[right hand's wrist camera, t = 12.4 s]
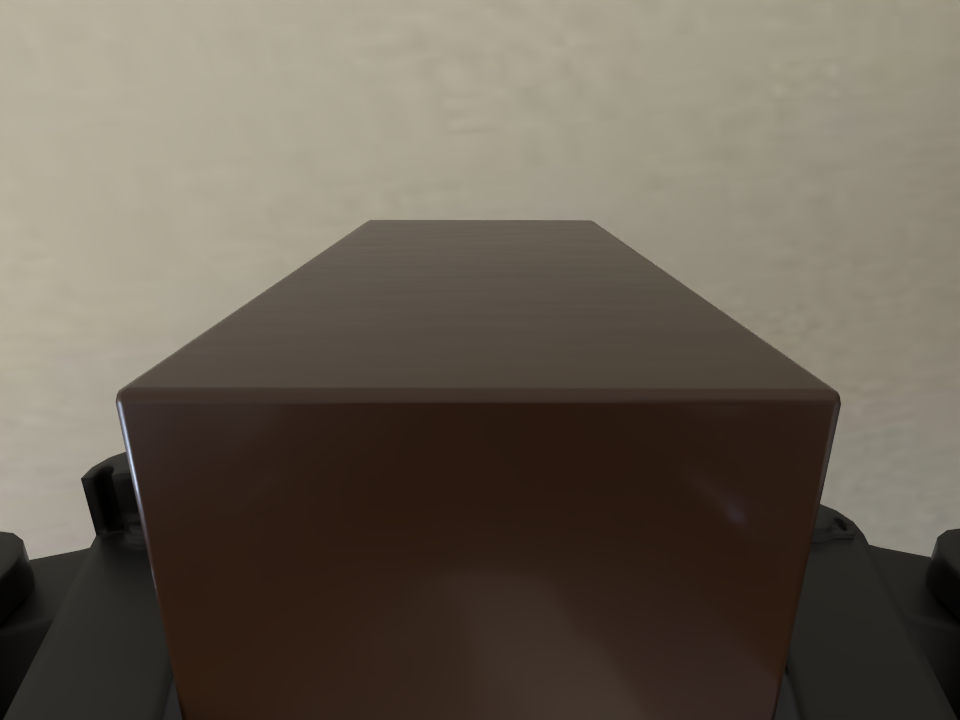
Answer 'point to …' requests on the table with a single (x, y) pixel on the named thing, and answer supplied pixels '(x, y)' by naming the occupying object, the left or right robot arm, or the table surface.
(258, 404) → the walnut box
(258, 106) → the table surface
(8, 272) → the table surface
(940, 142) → the table surface
